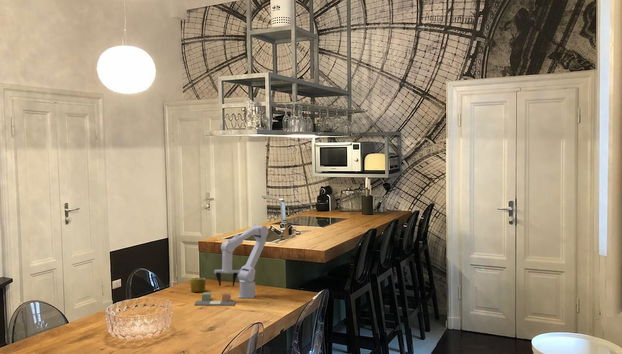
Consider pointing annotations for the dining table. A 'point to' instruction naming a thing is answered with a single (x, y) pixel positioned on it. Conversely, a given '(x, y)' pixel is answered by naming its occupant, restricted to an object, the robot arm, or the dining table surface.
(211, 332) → the dining table surface
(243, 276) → the robot arm
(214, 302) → the baseplate
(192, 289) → the mug
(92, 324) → the dining table surface
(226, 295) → the terracotta brick
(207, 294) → the green brick
